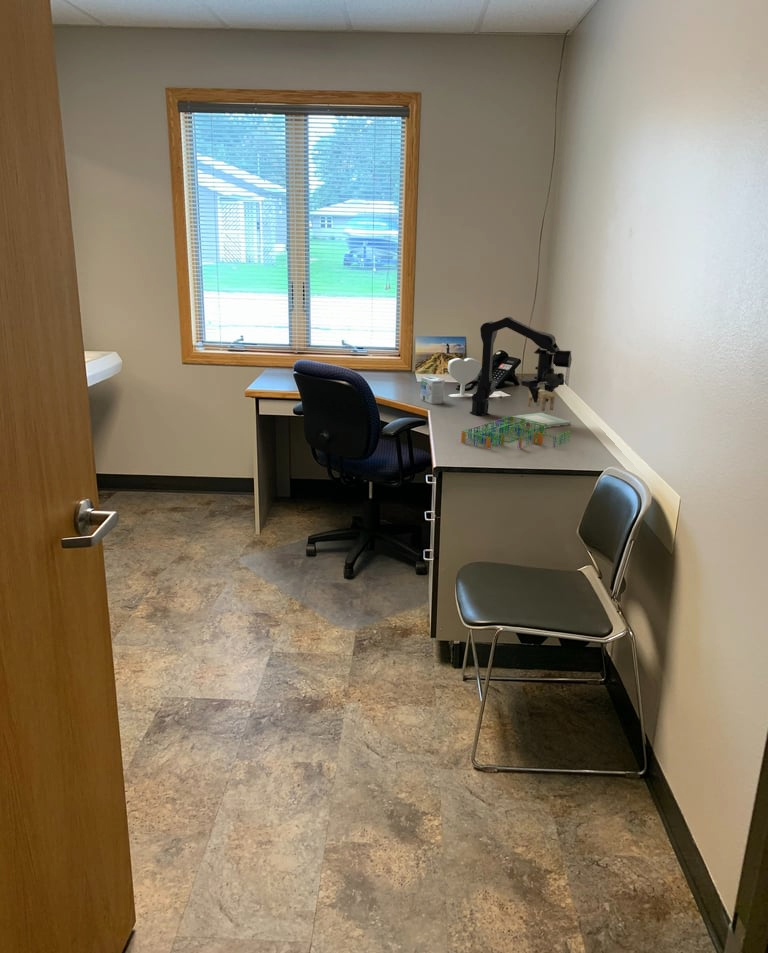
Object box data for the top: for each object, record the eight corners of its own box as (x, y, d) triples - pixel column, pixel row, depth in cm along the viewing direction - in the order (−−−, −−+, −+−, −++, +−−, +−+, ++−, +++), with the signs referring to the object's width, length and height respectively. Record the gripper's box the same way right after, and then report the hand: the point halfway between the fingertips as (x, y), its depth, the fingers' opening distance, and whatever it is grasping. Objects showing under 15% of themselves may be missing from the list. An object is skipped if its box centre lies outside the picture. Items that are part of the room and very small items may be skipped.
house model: (507, 427, 308) (508, 415, 307) (573, 440, 291) (574, 428, 289) (459, 442, 283) (459, 430, 281) (528, 459, 265) (529, 446, 263)
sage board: (537, 428, 305) (537, 426, 305) (509, 419, 320) (509, 416, 319) (570, 424, 314) (570, 421, 313) (541, 415, 328) (541, 412, 328)
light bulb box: (419, 399, 352) (420, 376, 349) (432, 398, 355) (433, 375, 352) (431, 404, 343) (432, 380, 340) (443, 403, 346) (445, 380, 343)
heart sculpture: (475, 394, 368) (477, 357, 362) (478, 396, 363) (481, 359, 358) (445, 394, 364) (447, 357, 359) (448, 397, 360) (450, 359, 354)
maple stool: (527, 406, 317) (528, 389, 315) (537, 404, 320) (539, 388, 318) (543, 411, 309) (544, 394, 307) (554, 409, 312) (555, 393, 310)
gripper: (540, 369, 298) (536, 408, 303) (575, 367, 307) (571, 404, 312) (522, 365, 307) (519, 402, 312) (556, 362, 316) (552, 398, 321)
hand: (541, 402), depth 314 cm, fingers closed on maple stool, 6 cm apart
